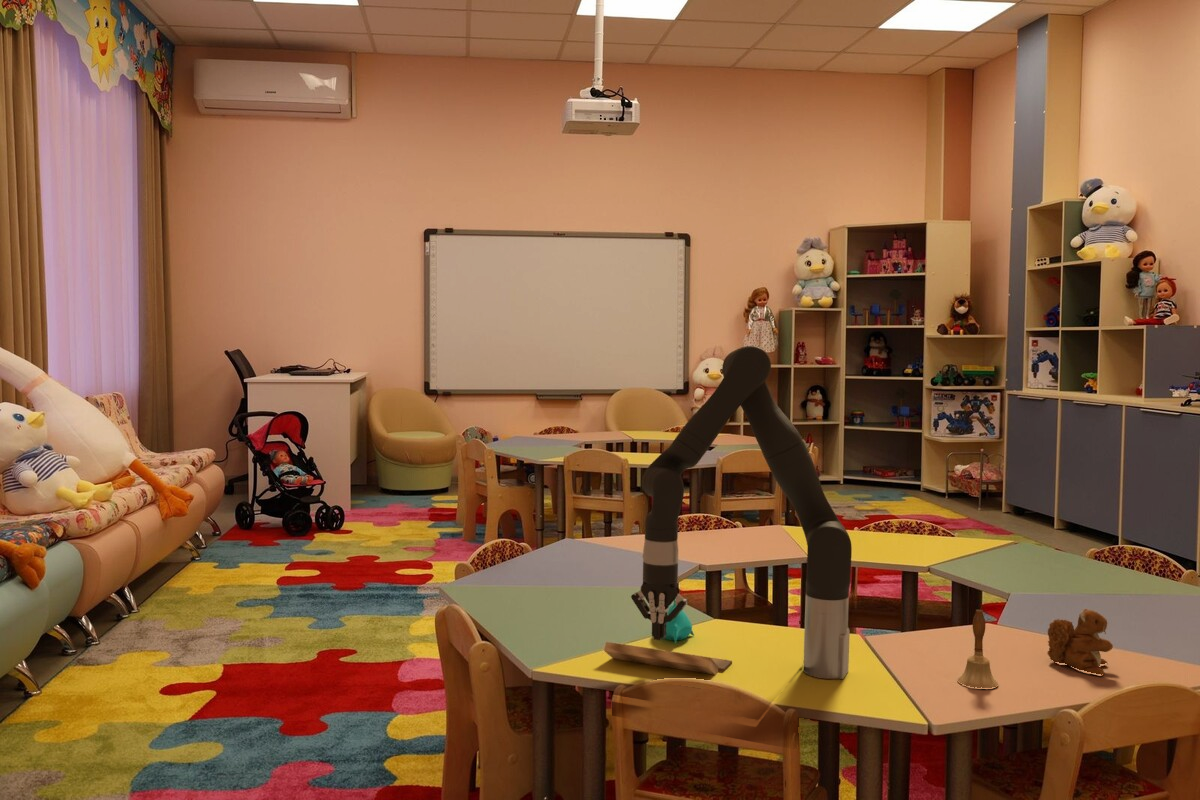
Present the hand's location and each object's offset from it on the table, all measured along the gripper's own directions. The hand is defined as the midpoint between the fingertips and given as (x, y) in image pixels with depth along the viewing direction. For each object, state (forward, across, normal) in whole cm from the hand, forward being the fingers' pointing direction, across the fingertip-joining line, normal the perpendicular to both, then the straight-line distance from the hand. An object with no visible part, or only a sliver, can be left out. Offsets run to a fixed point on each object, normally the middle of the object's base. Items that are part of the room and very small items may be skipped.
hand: (658, 639), depth 219 cm
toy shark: (+8, +5, -23) cm, 25 cm away
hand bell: (+8, -63, -26) cm, 69 cm away
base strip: (+8, 0, -8) cm, 11 cm away
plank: (+6, 0, -1) cm, 6 cm away
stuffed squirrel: (+8, -82, -49) cm, 96 cm away
